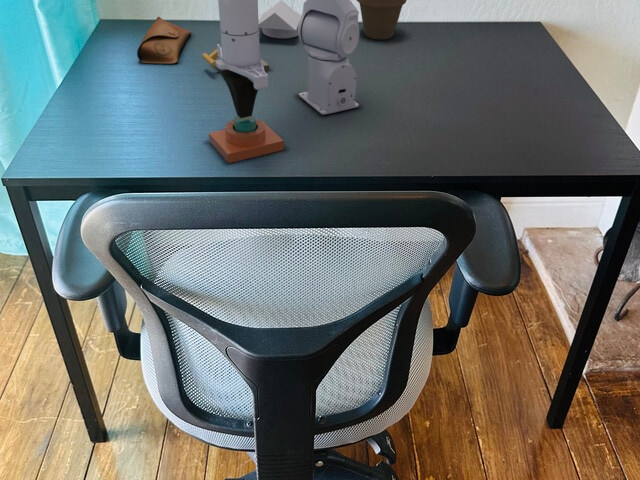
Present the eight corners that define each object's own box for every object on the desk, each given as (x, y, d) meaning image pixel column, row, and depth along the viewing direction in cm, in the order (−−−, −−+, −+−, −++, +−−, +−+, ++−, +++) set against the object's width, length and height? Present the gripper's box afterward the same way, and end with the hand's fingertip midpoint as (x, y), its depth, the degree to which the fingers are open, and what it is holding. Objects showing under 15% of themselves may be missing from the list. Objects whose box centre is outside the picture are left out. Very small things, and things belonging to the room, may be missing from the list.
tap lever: (215, 70, 130) (208, 61, 128) (205, 61, 133) (199, 52, 131) (253, 37, 130) (247, 27, 128) (243, 29, 133) (236, 19, 131)
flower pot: (345, 29, 154) (347, -18, 147) (388, 24, 157) (392, -22, 150) (367, 46, 146) (370, -2, 139) (411, 40, 150) (417, -7, 143)
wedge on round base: (295, 46, 145) (304, 25, 155) (295, 14, 141) (304, -5, 150) (255, 43, 146) (266, 23, 155) (254, 11, 141) (265, -8, 151)
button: (260, 131, 109) (259, 121, 107) (239, 135, 107) (239, 125, 106) (250, 122, 111) (250, 112, 110) (231, 126, 109) (230, 116, 108)
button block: (283, 149, 110) (283, 130, 108) (228, 163, 107) (227, 143, 104) (262, 130, 116) (262, 111, 113) (209, 142, 112) (207, 122, 109)
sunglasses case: (179, 62, 135) (158, 32, 131) (152, 78, 138) (131, 50, 134) (192, 31, 149) (174, 3, 145) (168, 46, 151) (149, 20, 147)
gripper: (196, 18, 101) (204, 102, 110) (234, 49, 92) (240, 139, 101) (238, 11, 104) (243, 94, 113) (280, 42, 95) (281, 130, 104)
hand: (244, 115), depth 107 cm, fingers closed
